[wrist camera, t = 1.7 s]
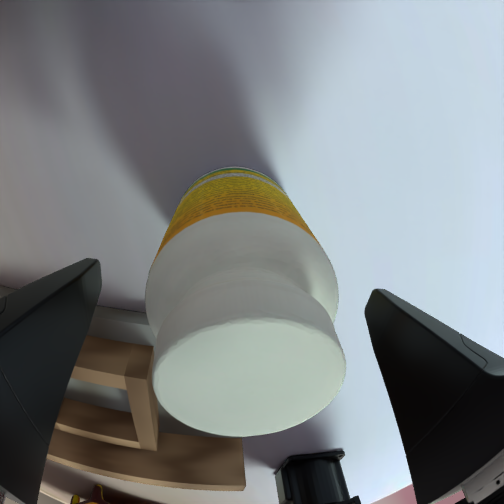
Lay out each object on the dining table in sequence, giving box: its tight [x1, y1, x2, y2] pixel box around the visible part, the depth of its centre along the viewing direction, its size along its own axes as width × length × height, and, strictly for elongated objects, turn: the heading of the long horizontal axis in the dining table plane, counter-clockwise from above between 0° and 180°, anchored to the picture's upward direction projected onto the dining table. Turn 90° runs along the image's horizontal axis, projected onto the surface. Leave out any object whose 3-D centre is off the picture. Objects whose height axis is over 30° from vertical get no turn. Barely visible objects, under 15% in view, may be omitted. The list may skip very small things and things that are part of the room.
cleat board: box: [0, 286, 246, 491], centre depth 16 cm, size 22×14×6 cm, turn 80°
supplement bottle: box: [145, 167, 346, 437], centre depth 10 cm, size 5×5×10 cm
